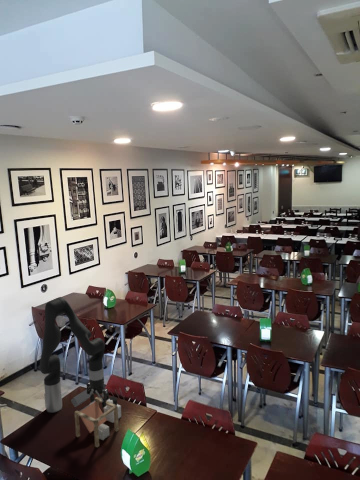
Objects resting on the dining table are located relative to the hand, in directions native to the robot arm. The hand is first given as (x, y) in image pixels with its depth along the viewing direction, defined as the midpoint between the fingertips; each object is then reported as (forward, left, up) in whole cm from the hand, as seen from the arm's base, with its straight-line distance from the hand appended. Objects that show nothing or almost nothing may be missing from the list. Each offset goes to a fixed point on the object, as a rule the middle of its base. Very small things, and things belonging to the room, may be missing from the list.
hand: (98, 404), depth 193 cm
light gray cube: (0, 0, -15) cm, 15 cm away
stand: (-2, 0, -18) cm, 18 cm away
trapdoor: (-9, 0, -7) cm, 12 cm away
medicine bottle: (-4, +14, -18) cm, 23 cm away
